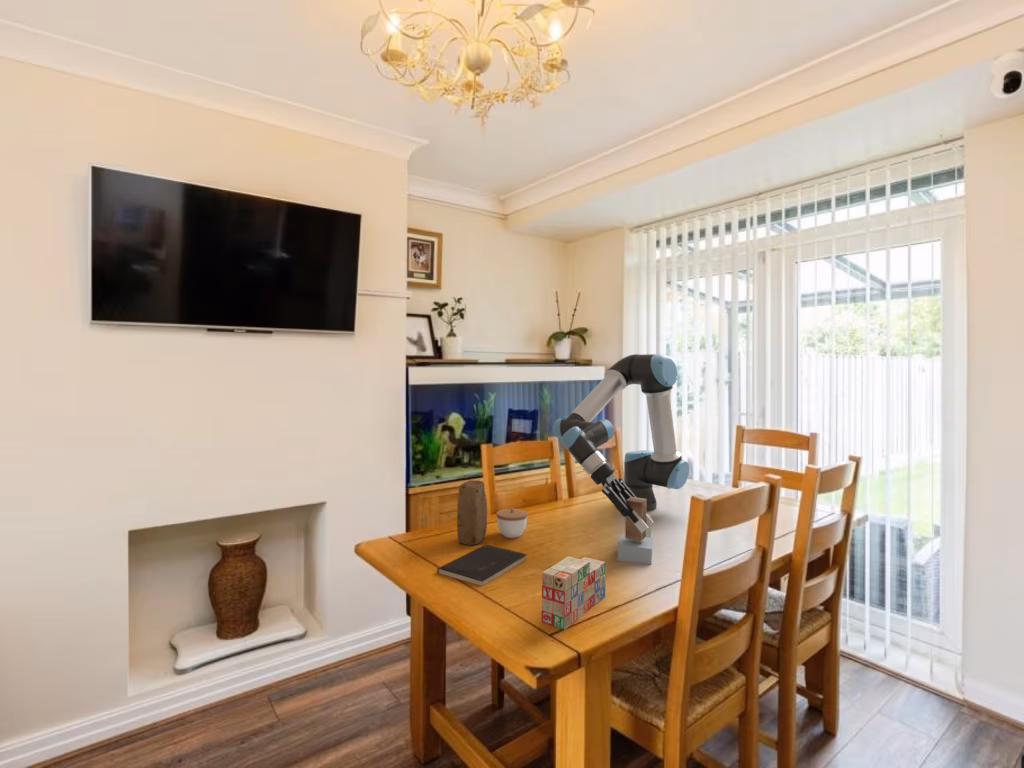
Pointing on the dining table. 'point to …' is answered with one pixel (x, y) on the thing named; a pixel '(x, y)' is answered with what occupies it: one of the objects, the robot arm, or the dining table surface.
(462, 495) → the block
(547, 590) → the stack of blocks
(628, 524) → the walnut block
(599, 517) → the dining table surface
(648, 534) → the sage block
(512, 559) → the hardcover book
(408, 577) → the dining table surface
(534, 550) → the dining table surface
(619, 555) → the slate base block
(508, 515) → the lidded jar
